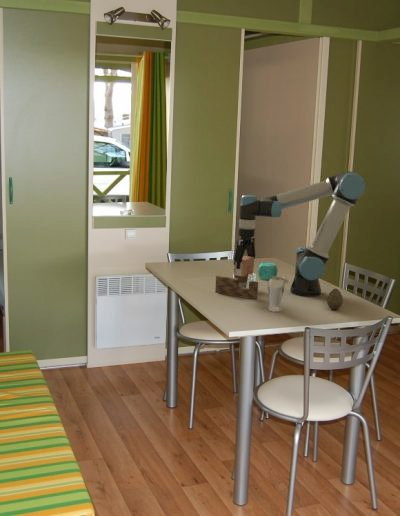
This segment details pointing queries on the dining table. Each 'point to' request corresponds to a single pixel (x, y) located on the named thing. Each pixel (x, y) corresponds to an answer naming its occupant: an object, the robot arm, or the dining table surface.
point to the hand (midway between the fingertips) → (243, 273)
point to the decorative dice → (267, 271)
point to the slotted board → (236, 287)
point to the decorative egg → (334, 299)
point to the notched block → (246, 265)
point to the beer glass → (275, 293)
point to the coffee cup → (241, 279)
